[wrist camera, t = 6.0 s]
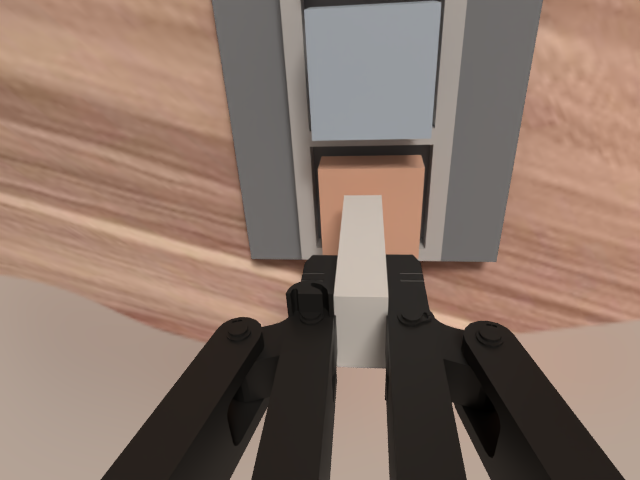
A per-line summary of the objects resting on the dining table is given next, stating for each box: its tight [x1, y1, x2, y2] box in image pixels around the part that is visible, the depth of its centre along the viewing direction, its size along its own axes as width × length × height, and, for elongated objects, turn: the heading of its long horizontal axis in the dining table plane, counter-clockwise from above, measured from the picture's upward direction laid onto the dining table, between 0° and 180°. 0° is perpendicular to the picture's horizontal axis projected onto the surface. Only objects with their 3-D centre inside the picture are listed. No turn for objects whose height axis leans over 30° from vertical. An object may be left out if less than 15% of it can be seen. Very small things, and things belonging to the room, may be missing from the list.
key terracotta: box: [318, 155, 425, 259], centre depth 20 cm, size 4×4×2 cm
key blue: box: [304, 1, 442, 141], centre depth 16 cm, size 4×4×2 cm
